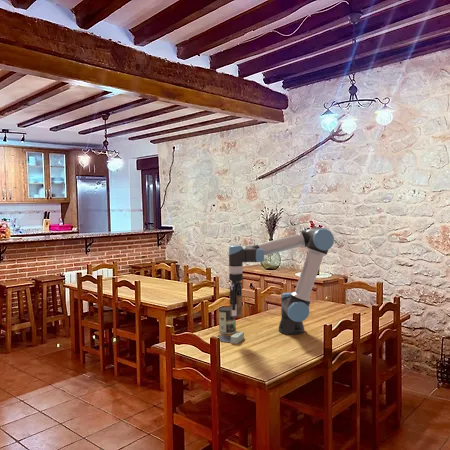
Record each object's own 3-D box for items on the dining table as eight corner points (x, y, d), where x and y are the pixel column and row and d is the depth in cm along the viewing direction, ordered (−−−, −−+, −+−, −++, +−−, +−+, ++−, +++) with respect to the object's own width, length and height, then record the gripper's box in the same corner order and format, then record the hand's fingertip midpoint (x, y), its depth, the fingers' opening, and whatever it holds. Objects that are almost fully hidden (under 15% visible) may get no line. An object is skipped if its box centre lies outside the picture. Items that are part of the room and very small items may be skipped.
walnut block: (241, 314, 244) (241, 295, 243) (238, 317, 239) (238, 297, 239) (233, 314, 246) (233, 294, 245) (230, 316, 241) (230, 296, 240)
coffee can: (237, 329, 265) (236, 306, 264) (234, 334, 255) (233, 310, 254) (220, 328, 267) (220, 306, 266) (217, 333, 257) (216, 310, 256)
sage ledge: (243, 338, 248) (243, 332, 248) (237, 343, 239) (237, 337, 238) (237, 337, 249) (237, 331, 249) (230, 342, 240) (230, 336, 240)
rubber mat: (236, 337, 250) (236, 336, 250) (229, 342, 240) (229, 342, 240) (219, 335, 254) (219, 334, 254) (211, 340, 245) (211, 340, 245)
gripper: (235, 270, 251) (235, 309, 252) (223, 275, 234) (223, 317, 236) (247, 270, 248) (247, 311, 249) (236, 276, 231) (236, 319, 233)
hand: (236, 314), depth 243 cm, fingers closed on walnut block, 5 cm apart
